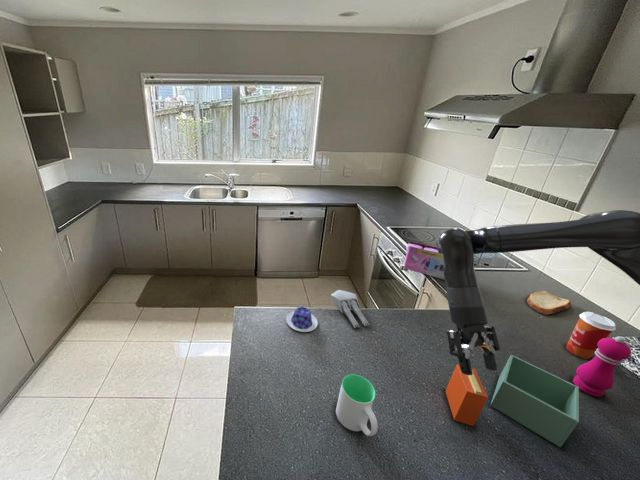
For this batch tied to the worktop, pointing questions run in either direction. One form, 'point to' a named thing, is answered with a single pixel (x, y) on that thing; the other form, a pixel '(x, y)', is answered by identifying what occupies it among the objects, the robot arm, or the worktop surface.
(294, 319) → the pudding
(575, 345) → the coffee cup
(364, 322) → the turret
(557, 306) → the bread slice
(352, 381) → the mug
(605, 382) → the pepper mill
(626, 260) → the robot arm
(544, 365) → the worktop surface
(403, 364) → the worktop surface
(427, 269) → the gum box
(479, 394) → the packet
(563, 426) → the bin
